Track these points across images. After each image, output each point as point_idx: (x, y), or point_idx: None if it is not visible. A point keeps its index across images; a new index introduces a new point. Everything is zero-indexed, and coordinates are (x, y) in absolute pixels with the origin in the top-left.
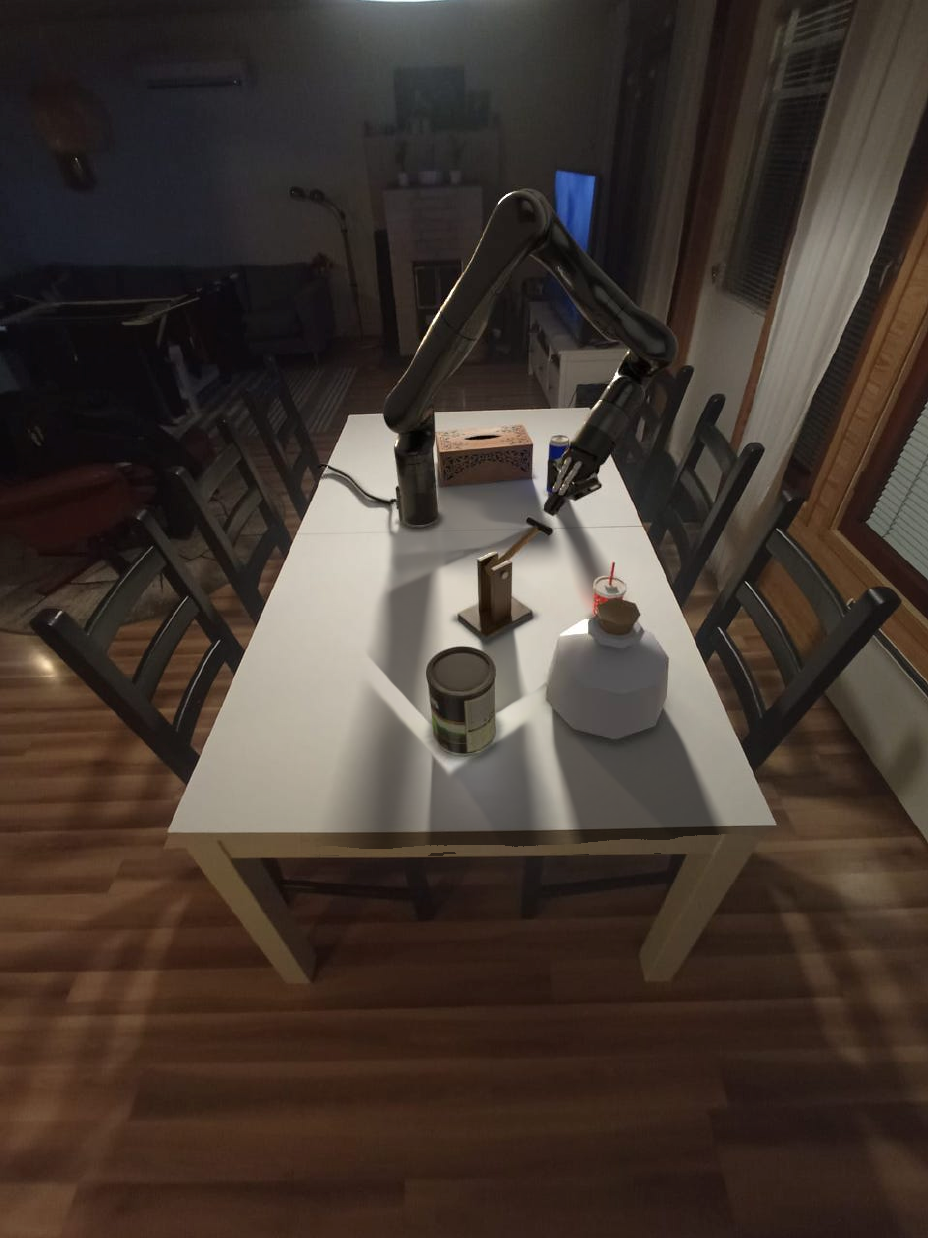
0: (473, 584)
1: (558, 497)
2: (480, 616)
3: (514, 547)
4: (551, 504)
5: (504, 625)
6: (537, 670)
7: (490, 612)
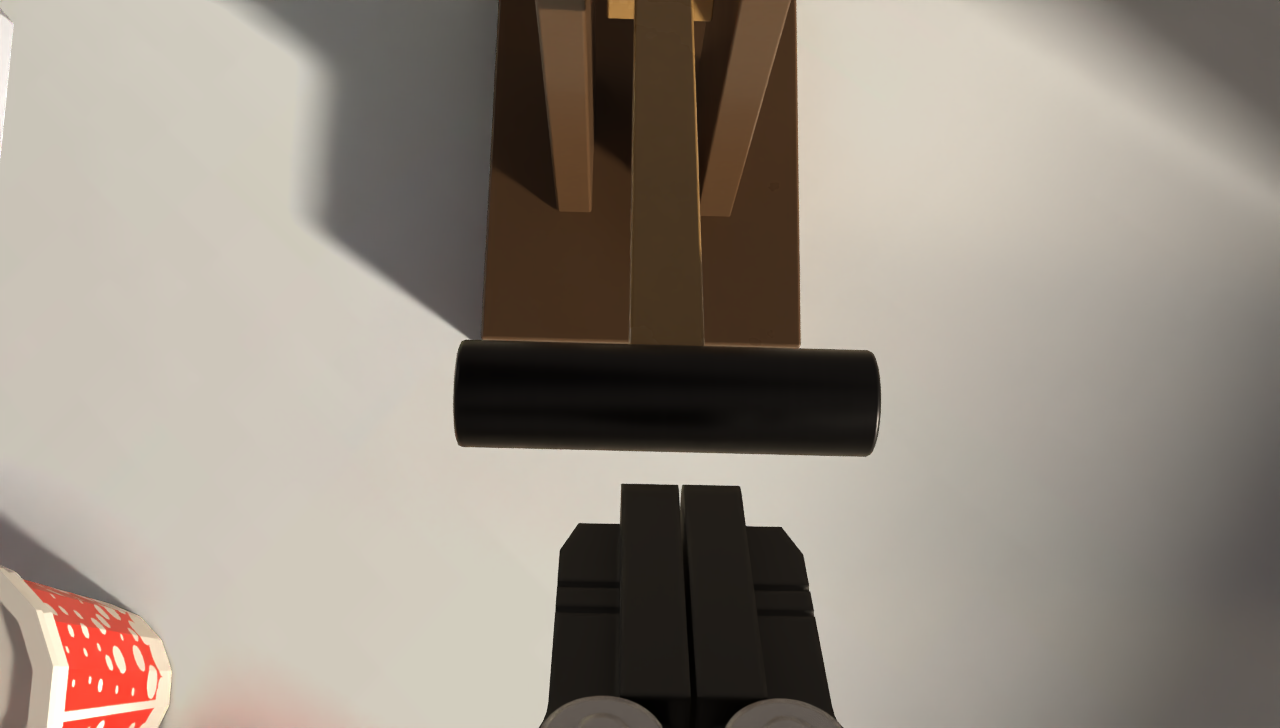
0: (1030, 285)
1: (616, 686)
2: None
3: (659, 79)
4: (648, 554)
5: (499, 103)
6: (116, 42)
7: None
